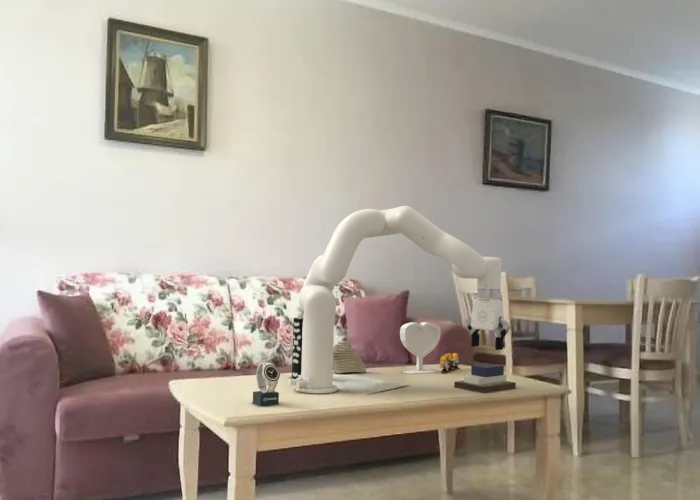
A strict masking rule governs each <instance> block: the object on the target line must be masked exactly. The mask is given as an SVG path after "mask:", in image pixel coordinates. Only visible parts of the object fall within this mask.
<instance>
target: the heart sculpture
mask: <svg viewBox="0 0 700 500" xmlns="http://www.w3.org/2000/svg"><path fill="white" fill-rule="evenodd" d="M399 328H400V329H399V338H400V342H401V344H402V345H403V347H404V348H405V349H406V350H407V351H408V352H409V353H410V354H412V355H414V356H415V357H416V364H415V365H416V369H410V370H403V371H402V373H403V374H409V375H410V374H411V375H412V374H427V373H428V374H429V373H437V371H436V370H431V369H426V368H424V359H425V357H426V356H427V355H429V354H430V353H431V352H433V350H434V349H435V348H437V346H438V344H439V342H440V340H441V333H442V332H441V327H440V326H439V325H438V324H436V323H433V322H426V321H425V322H424V321H421V322H420V323H419V322H413V321H412V322H411V321H410V322H407V323H404V324H403V325H401V327H399Z"/></svg>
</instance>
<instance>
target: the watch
mask: <svg viewBox="0 0 700 500" xmlns="http://www.w3.org/2000/svg"><path fill="white" fill-rule="evenodd" d="M281 375H282V374H281V371H280V368H279V367H277V365H275V364H274V363H271V362H270V361H269V362H268V361H267V362H260V363H259V364H258V366H257V368H256V374H255V378H256V386H257V388H258V389H259V390H257V391H256V390H255V391H252V404H253V405H256V406H259V407H266V406H274V405H275V406H276V405H279V400H280V399H279V398H280V393H279V392H278V391H275V390H276V388H277V385H278V383H279V379H280V377H281Z"/></svg>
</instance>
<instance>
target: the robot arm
mask: <svg viewBox="0 0 700 500" xmlns="http://www.w3.org/2000/svg"><path fill="white" fill-rule="evenodd" d="M396 234H397V235H398V234H402V235H403V236H404V237H406V238H407V239H408V240H410V241H411V242H412V243H414V244H415V245H417V246H418V247H419V248H420V249H422V250H423V251H424V252H425V253H427V254H430V255H432V256H434V257H435V256H436V257H439V258H441V259H444V260H445V261H448V262H450V263H451V265H452V266H451V269H452V272H453V273H454V275H456V276H457V277H458V278H460V279H461V278H462V279H469V280H470V279H473V280H474V279H475V280H476V279H477V280H476V282H477V283H476V290H475V291H474V294H475V295H476V298H474V300H473V302H472V303H473V304H472V310H471V316H470V317H469V318H468V319H466V320H465V323H466V326H467V329H468V331H469V334H470V335H471V337H470V340H471V341H470V346H471V347H475V348H476V347H479V346H480V334H479V332H480V331H490V332H493V331H494V332H493V333H495V335H496V336H497V337H495V341H494V343H495V344H494V349H495V351H501V350H504V338H505V337H506V336H507V335H508V333H509V331H510V329H511V326H512V324H511V323H510V322H509V321H507V320H505V317H504V306H503V300H502V299H501V297H502V296H501V295H502V294H501V293H502V267H503V266H502V265H503V264H502V259H501V258H500V257H498V256H483V255H481V254H480V253H479V252H478V251H476V250H475V249H474V248H472V247H471V246H470V245H468V244H467V243H465V242H463V241H462V240H461V239H458V238H457V237H455V236H453V235H452V234H450V233H448V232H446V231H444V230H443V229H441V228H439V227H438V226H437V225H436V224H434V223H433V222H432V221H430V220H429V219H428V218H427V217H425V216H424V215H423V214H421V213H420V212H418V211H417V210H416V209H414V208H413V207H411V206H409V205H400V206H397V207H393V208H387V209H386V208H385V209H376V208H363V209H359V210H356V211H354V212H352V213H350V214H349V215H347V216H346V217H344V218H343V219H342V220H341V222H339V223H338V225H337V226H336V228H335V229H334V231H333V233H332V235H331V238H330V240H329V242H328V243H327V245H326V249H325V251H324V252H323V254H320V255H319V256H317V257H316V258H315V260H314V261H313V263H312V264H311V267H310V269H309V271H308V273H307V275H306V277H305V280H304V282H303V285H302V287H301V290H300V292H299V295H298V303H299V307H300V308H301V310H302V311H303V316H302V318H303V329H302V366H301V375H298V378H296V379H292V378H289V379H287V385H288V387H294V386H295V390H296V391H297V392H300V393H305V394H331V393H335V392H337V391H338V386H337V385H336V384H333V380H334V379H333V377H334V376H333V374H334V371H333V347H334V343H335V342H334V340H335V339H334V338H335V337H334V336H335V334H334V333H335V320H336V319H335V318H336V310H337V300H336V296H335V295H334V293H333V291H334V289H335V287H336V284H338V283H341V282H342V281H343V280H344V279H345V277H346V275H347V273H348V271H349V268H350V265H351V263H352V260H353V258H354V255H355V253H356V251H357V249H358V247H359V245H360V244H361V243H362V241H363V240H365V239H367V238H368V239H369V238H374V237H375V238H376V237H383V236H391V235H396Z"/></svg>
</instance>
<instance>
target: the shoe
mask: <svg viewBox="0 0 700 500" xmlns="http://www.w3.org/2000/svg"><path fill="white" fill-rule="evenodd" d="M504 371H505V365H500V364H493V363H482V364H472V365H471V366H470V374H467V375H463V380H464V382H467V383H472V384H477V385H481V384H488V383H495V382H502V381H507V374H505V373H504Z"/></svg>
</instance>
